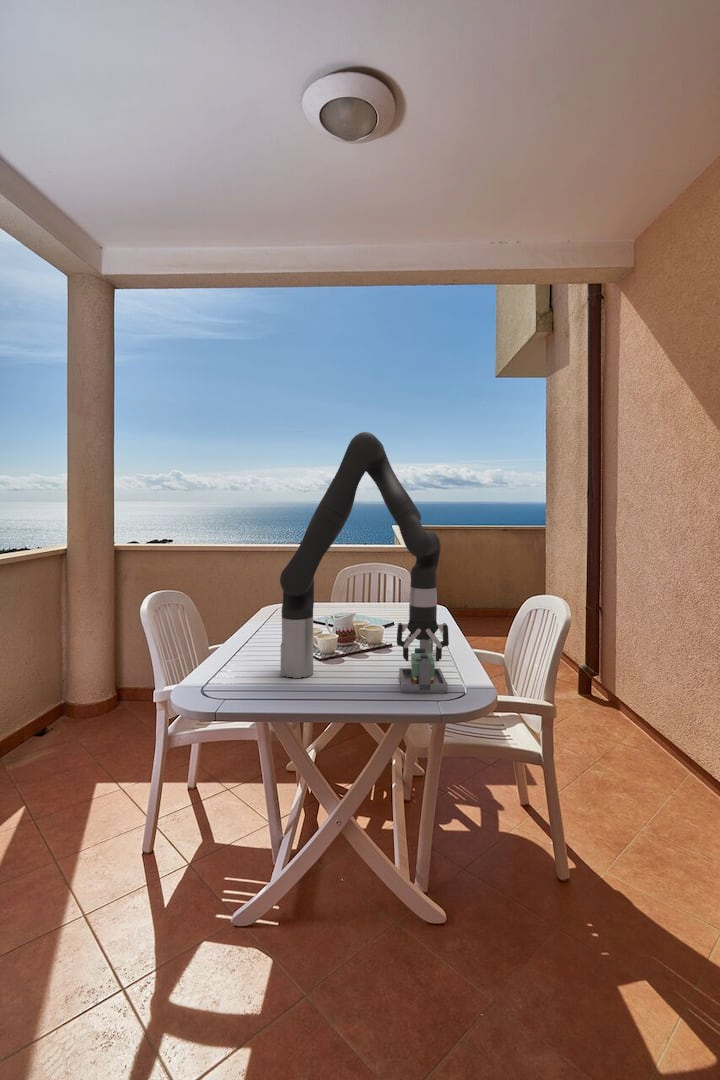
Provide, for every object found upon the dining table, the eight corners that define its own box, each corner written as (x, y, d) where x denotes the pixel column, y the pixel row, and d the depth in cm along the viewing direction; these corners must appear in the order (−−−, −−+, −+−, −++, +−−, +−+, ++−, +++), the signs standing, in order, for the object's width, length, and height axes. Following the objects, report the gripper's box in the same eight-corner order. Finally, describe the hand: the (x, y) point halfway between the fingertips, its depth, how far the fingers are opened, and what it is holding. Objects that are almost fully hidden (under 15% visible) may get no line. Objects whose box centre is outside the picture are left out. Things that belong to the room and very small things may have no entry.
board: (412, 676, 136) (412, 660, 136) (411, 664, 145) (411, 650, 145) (434, 676, 135) (434, 661, 135) (431, 665, 145) (432, 650, 145)
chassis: (402, 693, 134) (402, 662, 134) (399, 676, 147) (399, 648, 147) (447, 693, 134) (447, 662, 134) (439, 676, 147) (440, 648, 146)
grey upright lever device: (433, 625, 152) (437, 608, 177) (412, 623, 153) (419, 607, 178) (432, 670, 153) (436, 647, 178) (411, 668, 154) (418, 645, 179)
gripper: (398, 605, 135) (397, 664, 136) (451, 606, 135) (449, 665, 136) (396, 600, 143) (395, 656, 144) (446, 600, 143) (445, 656, 144)
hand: (422, 660), depth 140 cm, fingers open, 8 cm apart
